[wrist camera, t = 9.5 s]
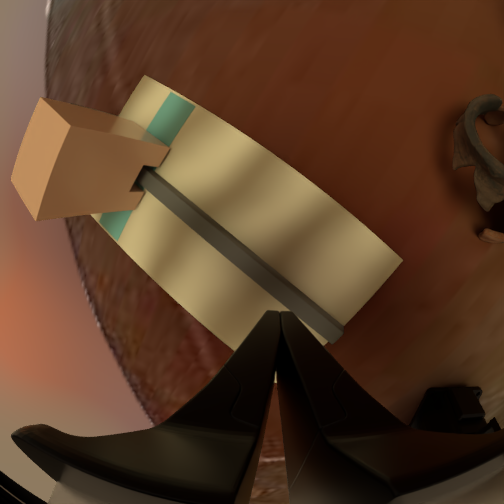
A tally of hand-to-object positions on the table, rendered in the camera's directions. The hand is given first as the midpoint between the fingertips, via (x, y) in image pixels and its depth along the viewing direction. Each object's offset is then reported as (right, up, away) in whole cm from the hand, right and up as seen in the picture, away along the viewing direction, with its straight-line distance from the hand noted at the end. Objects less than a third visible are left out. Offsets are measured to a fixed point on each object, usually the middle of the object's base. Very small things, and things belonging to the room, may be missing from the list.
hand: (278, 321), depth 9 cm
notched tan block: (-11, +10, +12) cm, 19 cm away
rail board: (-4, +5, +12) cm, 14 cm away
